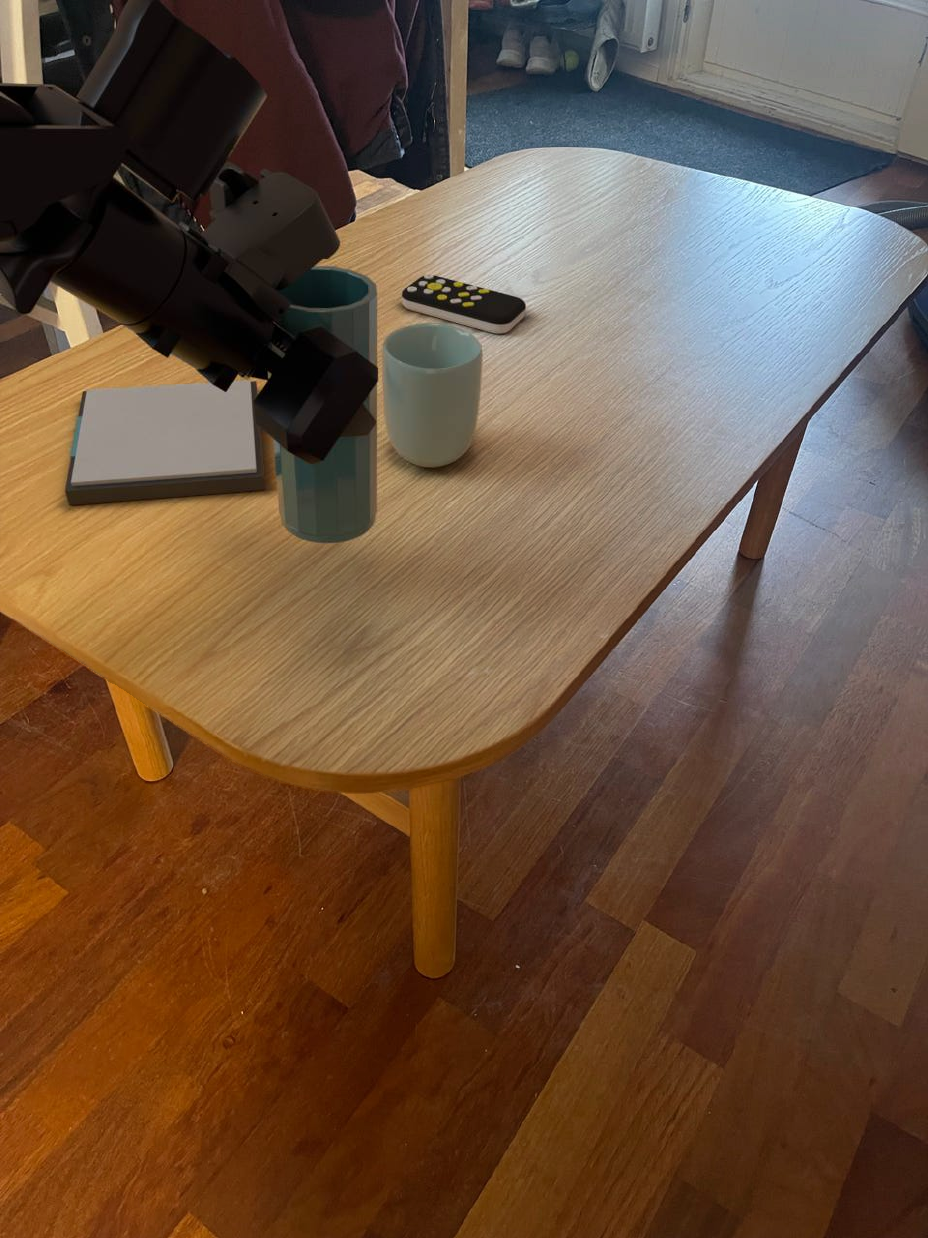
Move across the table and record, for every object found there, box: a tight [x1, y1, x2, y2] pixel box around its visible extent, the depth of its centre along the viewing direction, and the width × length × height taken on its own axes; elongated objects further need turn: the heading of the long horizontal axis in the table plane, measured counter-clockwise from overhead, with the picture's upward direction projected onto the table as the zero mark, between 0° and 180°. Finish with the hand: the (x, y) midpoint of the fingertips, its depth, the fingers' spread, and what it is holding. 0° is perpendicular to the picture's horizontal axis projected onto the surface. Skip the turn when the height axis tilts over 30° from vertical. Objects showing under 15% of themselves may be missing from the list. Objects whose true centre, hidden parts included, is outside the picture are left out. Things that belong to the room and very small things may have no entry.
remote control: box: [401, 273, 527, 334], centre depth 100 cm, size 6×13×2 cm, turn 63°
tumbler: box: [268, 265, 378, 544], centre depth 60 cm, size 7×7×16 cm
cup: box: [381, 322, 484, 468], centre depth 77 cm, size 8×8×10 cm
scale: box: [64, 379, 266, 506], centre depth 79 cm, size 15×15×2 cm
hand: (340, 403), depth 60 cm, fingers closed on tumbler, 7 cm apart
